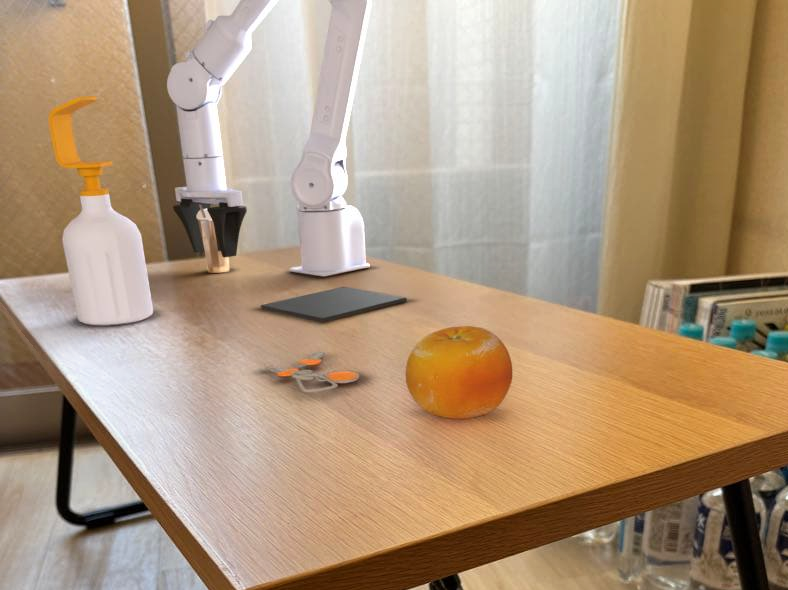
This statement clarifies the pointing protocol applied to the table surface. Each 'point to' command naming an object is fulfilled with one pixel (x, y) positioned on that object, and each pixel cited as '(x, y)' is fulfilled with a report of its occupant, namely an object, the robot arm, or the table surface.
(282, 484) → the table surface
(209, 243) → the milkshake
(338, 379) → the key chain
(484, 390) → the fruit
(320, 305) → the mat
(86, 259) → the soap bottle
